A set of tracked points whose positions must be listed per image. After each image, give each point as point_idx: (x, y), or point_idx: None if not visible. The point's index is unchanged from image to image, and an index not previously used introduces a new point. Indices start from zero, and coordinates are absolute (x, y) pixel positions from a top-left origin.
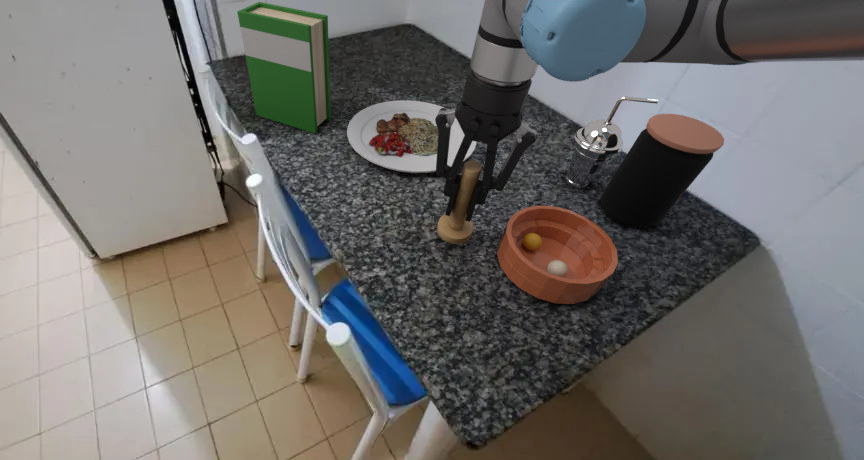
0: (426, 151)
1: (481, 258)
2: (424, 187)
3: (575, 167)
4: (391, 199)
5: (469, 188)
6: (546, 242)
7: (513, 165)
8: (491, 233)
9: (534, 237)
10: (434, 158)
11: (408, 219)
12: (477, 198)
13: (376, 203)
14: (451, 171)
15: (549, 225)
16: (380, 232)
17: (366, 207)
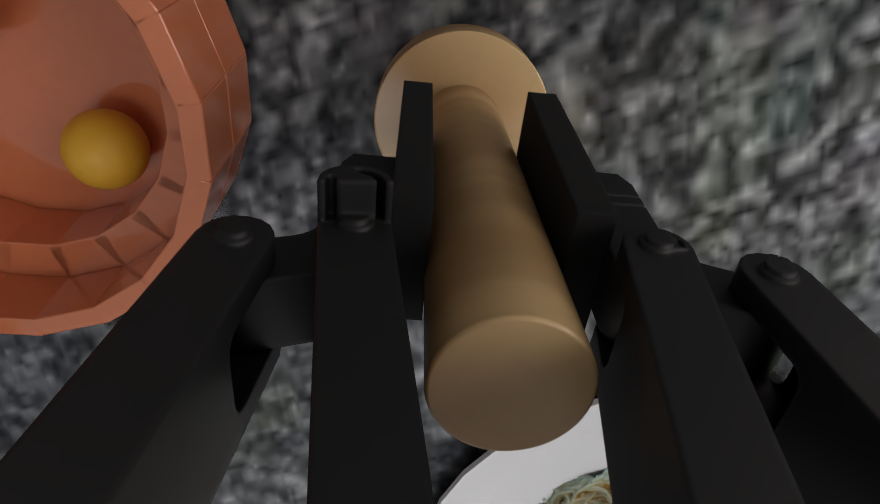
0: (595, 489)
1: (309, 10)
2: (590, 336)
3: None
4: (730, 242)
5: (476, 217)
6: (65, 182)
7: (39, 458)
8: (295, 174)
9: (88, 155)
10: (561, 468)
11: (656, 151)
12: (397, 162)
13: (799, 203)
14: (699, 295)
15: (54, 248)
16: (794, 31)
17: (848, 168)
